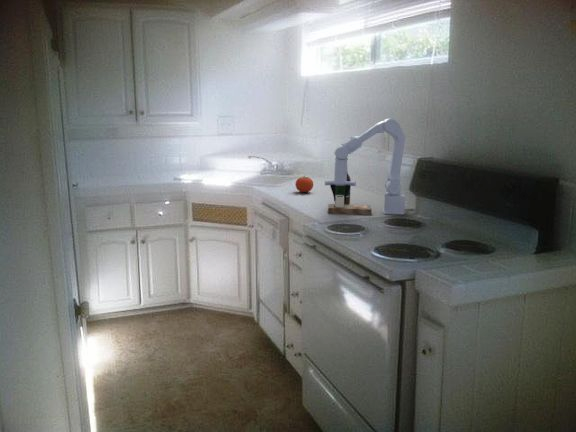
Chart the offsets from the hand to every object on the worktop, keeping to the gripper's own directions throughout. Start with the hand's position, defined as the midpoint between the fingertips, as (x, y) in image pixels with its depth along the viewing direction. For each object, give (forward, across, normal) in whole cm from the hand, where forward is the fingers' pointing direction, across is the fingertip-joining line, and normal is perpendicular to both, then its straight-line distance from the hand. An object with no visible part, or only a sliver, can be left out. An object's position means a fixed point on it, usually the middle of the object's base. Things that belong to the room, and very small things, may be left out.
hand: (339, 200), depth 247 cm
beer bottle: (+6, +2, +18) cm, 19 cm away
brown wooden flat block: (+5, +5, 0) cm, 7 cm away
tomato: (+5, -19, +50) cm, 54 cm away
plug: (+3, 0, 0) cm, 3 cm away
